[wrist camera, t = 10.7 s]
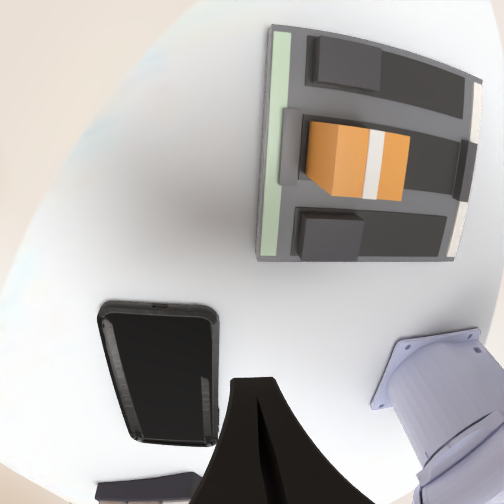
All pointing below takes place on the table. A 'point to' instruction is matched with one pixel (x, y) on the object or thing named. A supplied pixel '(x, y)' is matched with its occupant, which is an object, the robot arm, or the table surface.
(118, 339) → the phone
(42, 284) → the table surface
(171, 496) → the red and black box
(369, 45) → the panel
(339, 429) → the table surface
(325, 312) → the table surface
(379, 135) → the handle
